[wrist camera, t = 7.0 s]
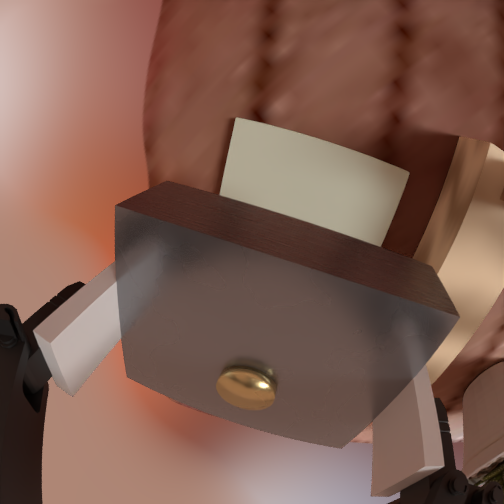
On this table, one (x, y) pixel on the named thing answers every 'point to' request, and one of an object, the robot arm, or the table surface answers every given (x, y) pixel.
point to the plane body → (467, 242)
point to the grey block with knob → (269, 314)
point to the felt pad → (312, 180)
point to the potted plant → (484, 428)
